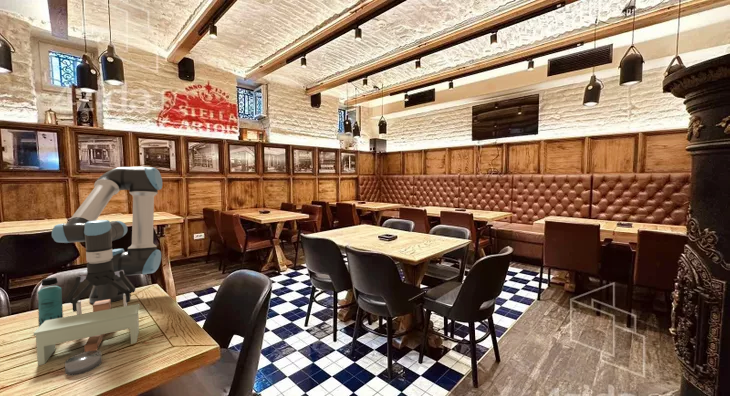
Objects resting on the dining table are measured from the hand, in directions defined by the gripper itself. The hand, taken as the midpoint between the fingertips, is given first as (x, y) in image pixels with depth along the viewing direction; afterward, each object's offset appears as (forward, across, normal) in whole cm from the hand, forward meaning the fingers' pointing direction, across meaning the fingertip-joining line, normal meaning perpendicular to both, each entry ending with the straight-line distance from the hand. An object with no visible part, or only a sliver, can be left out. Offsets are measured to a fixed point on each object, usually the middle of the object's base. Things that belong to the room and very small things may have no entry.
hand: (103, 314), depth 115 cm
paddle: (+5, 0, -10) cm, 11 cm away
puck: (+4, 0, -30) cm, 31 cm away
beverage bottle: (+5, -16, +7) cm, 18 cm away
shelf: (+4, 0, -17) cm, 17 cm away
